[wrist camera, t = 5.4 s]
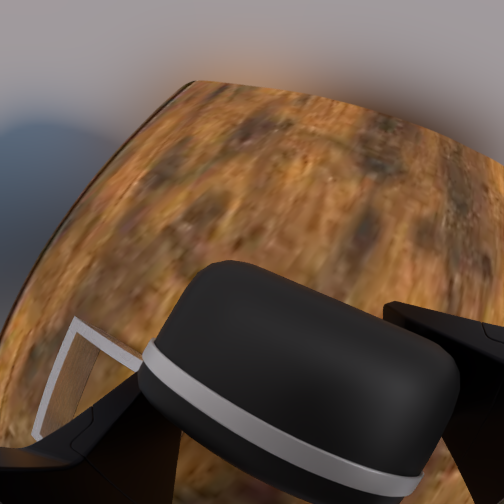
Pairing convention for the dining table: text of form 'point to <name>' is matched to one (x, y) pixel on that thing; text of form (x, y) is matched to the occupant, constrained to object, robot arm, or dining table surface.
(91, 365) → the hollow square metal frame
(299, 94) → the dining table surface
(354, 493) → the battery charger
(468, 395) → the robot arm
